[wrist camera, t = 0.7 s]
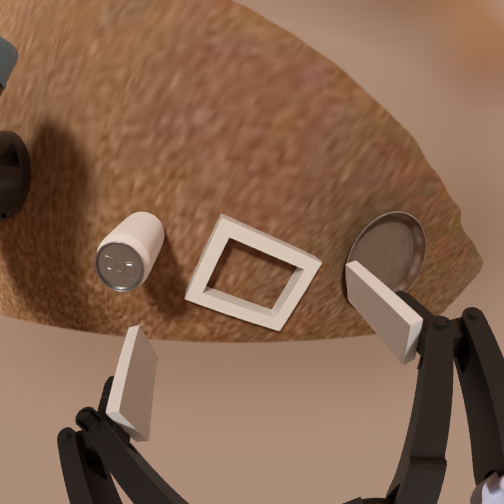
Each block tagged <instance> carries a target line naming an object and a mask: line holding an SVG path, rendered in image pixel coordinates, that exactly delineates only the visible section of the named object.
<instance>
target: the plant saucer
mask: <svg viewBox="0 0 504 504" xmlns="http://www.w3.org/2000/svg"><path fill="white" fill-rule="evenodd" d="M425 255H426V237H425V233H424V230H423V228H422V226H421V224H420V223H419V221H418V220H417V219H416V218H415V217H414V216H412V215H410V214H408V213H406V212H401V211H394V212H389V213H386V214H383V215H381V216H379V217H377V218H376V219H374V220H372V221H371V222H370V223H369V224H367V225H366V226H365V227H364V228H363V229H362V231H361V232H360V233H359V234H358V236H357V237H356V239H355V240H354V242H353V244H352V246H351V248H350V251H349V254H348V257H347V261H346V264H347V263H350V262H353V261H357V262H358V263H360V264H361V265H362V266H363V267H364V268H366V269H367V270H368V271H369V272H370V273H372V274H373V275H374V276H375V277H376V278H378V279H379V280H380V281H381V282H382V283H383V284H385V285H386V286H387V287H388V288H389V289H390V290H391V291H393V292H397V291H399V290H401V291H404V292H407V291H408V290H409V289H410V288H411V286H412V285H413V284H414V282H415V281H416V279H417V278H418V276H419V274H420V271H421V269H422V267H423V264H424V260H425ZM345 280H346V286H347V277H346V269H345Z"/></svg>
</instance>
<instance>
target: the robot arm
mask: <svg viewBox="0 0 504 504" xmlns="http://www.w3.org/2000/svg"><path fill="white" fill-rule="evenodd" d="M17 60H18V52H17V49H16V48H15V47H14V46H13V45H12V44H11V43H10V42H8V41H7V40H6V39H4V38H3V37H1V36H0V96H1V94H2V92H3V89H5V88H6V83H7V81H8V79H9V76H10V74H11V72H12V70H13V69H14V67H15V65H16V63H17ZM29 183H30V161H29V156H28V152H27V149H26V146H25V144H24V142H23V141H22V139H21V138H20V137H19V136H18V135H17V134H16V133H14V132H11V131H0V222H3V221H5V220H7V219H9V218H11V217H13V216H14V215H16V214H17V213H18V211H19V210H20V209H21V207H22V206H23V204H24V201H25V199H26V196H27V193H28V189H29ZM345 265H346V277H347V292H348V301H349V302H350V303H351V304H352V305H353V306H354V308H355V309H356V310H357V311H358V312H359V313H360V315H361V316H362V317H363V318H364V319H365V320H366V322H367V323H368V324H369V325H370V326H371V327H372V329H373V330H374V331H375V332H376V333H377V335H378V336H379V337H380V338H381V339H382V341H383V342H384V343H385V344H386V345H387V346H388V348H389V349H390V350H391V351H392V352H393V354H394V355H395V356H396V357H397V359H398V360H399V361H400V362H401V364H402V365H405V364H407V363H408V362H410V361H412V360H414V359H415V356H416V351H417V352H418V353H419V354H420V355H421V356H420V360H419V364H418V368H417V369H419V370H418V378H417V385H416V391H415V398H414V403H413V408H412V414H411V418H410V423H409V427H408V431H407V436H406V439H405V443H404V447H403V451H402V454H401V458H400V461H399V464H398V468H397V471H396V474H395V476H394V479H393V481H392V483H391V485H390V487H389V490H388V492H387V495H386V497H385V498H366V499H361V497H358V498H356V499H353V500H351V501H348V502H346V503H343V504H437V501H438V498H439V495H440V492H441V488H442V484H443V480H444V476H445V472H446V467H447V461H446V459H445V451H446V446H447V440H448V433H449V426H450V417H451V406H452V394H453V359H454V362H455V366H456V369H457V373H458V377H459V381H460V385H461V389H462V394H463V399H464V403H465V409H466V414H467V420H468V426H469V433H470V440H471V449H472V461H473V472H474V478H475V483H476V488H475V489H474V491H473V493H472V496H471V499H470V503H471V504H504V358H503V355H502V353H501V350H500V348H499V346H498V344H497V341H496V339H495V337H494V335H493V333H492V330H491V328H490V326H489V324H488V322H487V320H486V318H485V316H484V314H483V313H482V311H481V310H479V309H478V308H474V307H469V308H466V309H465V310H464V311H463V313H462V317H460V318H456V319H452V320H449V319H448V318H446V317H444V316H434V315H433V314H432V313H431V312H430V311H428V310H427V309H426V308H425V307H424V306H423V305H421V304H420V303H418V301H417V300H416V299H414V298H413V297H412V296H411V295H410V294H408V293H406V292H404V291H401V290H399V291H397V292H393V291H391V290H390V289H389V288H388V287H387V286H386V285H385V284H383V283H382V282H381V281H380V280H379V279H378V278H376V277H375V276H374V275H373V274H372V273H370V272H369V271H368V270H367V269H366V268H364V267H363V266H362V265H361V264H360V263H358V262H357V261H353V262H350V263H347V264H345ZM157 359H158V356H157V354H156V353H155V351H154V349H153V348H152V346H151V344H150V343H149V341H148V339H147V338H146V336H145V334H144V332H143V331H142V329H141V327H140V325H138V326H134V327H129V329H128V332H127V335H126V339H125V342H124V345H123V349H122V352H121V355H120V358H119V362H118V366H117V369H116V373H115V376H111V377H109V378H108V380H107V381H106V383H105V385H104V389H103V392H102V398H101V400H100V404H99V407H98V411H97V412H96V410H94V409H93V408H92V407H85V408H83V409H81V410H80V411H79V412H78V414H77V416H76V420H75V421H76V424H77V425H78V426H79V427H80V428H81V429H82V430H81V431H78V432H75V431H74V430H73V429H72V428H69V427H67V428H64V429H62V430H61V431H60V433H59V434H58V437H57V443H58V450H59V455H60V462H61V467H62V471H63V477H64V481H65V485H66V490H67V493H68V497H69V501H70V504H122V501H121V499H120V497H119V494H118V492H117V490H116V487H115V485H114V482H113V479H112V477H111V474H112V475H113V477H114V478H115V479H116V481H117V482H118V484H119V485H120V486H121V488H122V489H123V490H124V492H125V493H126V494H127V496H128V497H129V498H130V499H131V501H132V502H133V503H134V504H189V503H188V502H186V501H185V500H184V499H183V498H182V497H181V496H180V495H179V494H178V493H177V492H175V490H174V489H172V488H171V487H170V486H169V485H168V484H167V483H166V482H165V481H164V480H163V479H162V477H160V475H159V474H158V473H157V472H156V471H155V470H154V469H153V468H152V467H151V466H150V465H149V464H148V462H147V461H146V460H145V459H144V458H143V457H142V455H141V454H140V453H139V452H138V451H137V450H136V448H135V447H134V446H133V445H132V444H131V443H130V437H132V438H133V439H134V440H135V441H136V442H139V441H149V433H150V421H151V410H152V400H153V390H154V382H155V374H156V366H157ZM110 472H111V474H110Z"/></svg>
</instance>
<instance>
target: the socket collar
mask: <svg viewBox="0 0 504 504" xmlns="http://www.w3.org/2000/svg"><path fill="white" fill-rule="evenodd" d="M229 237H230V238H232V239H234V240H237V241H239V242H241V243H244V244H246V245H248V246H251V247H253V248H255V249H258V250H260V251H262V252H265V253H267V254H269V255H271V256H274V257H276V258H278V259H281V260H283V261H285V262H288V263H290V264H292V265H295V266H297V268H296V270H295V271H294V273H293V275H292V276H291V278H290V280H289V282H288V283H287V285H286V287H285V288H284V290H283V292H282V293H281V295H280V297H279V298H278V300H277V302H276V303H275V305H274V307H273V308H272V310H271V309H268V308H265V307H262V306H259V305H257V304H254V303H251V302H248V301H245V300H243V299H240V298H237V297H234V296H231V295H229V294H226V293H223V292H221V291H218V290H215V289H213V288H210V287H207V286H206V285H207V282H208V280H209V278H210V276H211V274H212V272H213V270H214V268H215V266H216V264H217V261H218V259H219V257H220V255H221V253H222V251H223V249H224V247H225V245H226V243H227V241H228V239H229ZM321 264H322V262H321V261H320V260H319V259H318V258H317V257H316V256H314V255H311V254H309V253H307V252H305V251H303V250H301V249H299V248H296V247H294V246H292V245H290V244H288V243H286V242H283V241H281V240H279V239H277V238H275V237H272V236H270V235H268V234H266V233H264V232H261V231H259V230H257V229H255V228H253V227H250V226H248V225H246V224H244V223H241V222H239V221H237V220H235V219H233V218H230V217H228V216H226V215H223V214H221V215H220V217H219V219H218V221H217V223H216V225H215V227H214V229H213V231H212V234H211V236H210V238H209V240H208V242H207V244H206V247H205V249H204V251H203V253H202V255H201V257H200V260H199V262H198V264H197V266H196V269H195V271H194V273H193V275H192V278H191V280H190V282H189V284H188V287H187V289H186V293H185V299H186V300H188V301H191V302H194V303H196V304H199V305H202V306H205V307H208V308H210V309H213V310H216V311H219V312H222V313H225V314H228V315H231V316H234V317H237V318H240V319H243V320H246V321H249V322H252V323H255V324H258V325H261V326H264V327H268V328H271V329H274V330H277V331H280V330H281V328H282V327H283V325H284V324H285V322H286V321H287V319H288V318H289V316H290V314H291V313H292V311H293V310H294V308H295V307H296V305H297V303H298V302H299V300H300V299H301V297H302V295H303V294H304V292H305V290H306V289H307V287H308V285H309V284H310V282H311V281H312V279H313V277H314V276H315V274H316V272H317V270H318V269H319V267H320V265H321Z"/></svg>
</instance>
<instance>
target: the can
mask: <svg viewBox="0 0 504 504" xmlns="http://www.w3.org/2000/svg"><path fill="white" fill-rule="evenodd" d="M163 241H164V228H163V226H162V224H161V222H160V221H159V219H158V218H157V217H155V216H154V215H152V214H150V213H147V212H136V213H134V214H132V215H130V216H129V217H127V218H126V219H125V220H124V221H123V222H122V223H121V224H119V225H118V226H117V227H116V228H115V229H114V230H113V231H112V232H111V233H110V234H109V235H108V236H106V237H105V239H104V240H103V241H102V242H101V244H100V245H99V247H98V250H97V254H96V257H95V270H96V273H97V275H98V277H99V279H100V280H101V282H102V283H103V284H104V285H106V286H107V287H108V288H110V289H112V290H114V291H118V292H128V291H131V290H134V289H135V288H137V287H138V286H139V285H141V284H142V283H143V282H144V281H145V280H146V279H147V277H148V275H149V273H150V271H151V269H152V267H153V265H154V262H155V260H156V258H157V256H158V254H159V251H160V249H161V247H162V245H163Z"/></svg>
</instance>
